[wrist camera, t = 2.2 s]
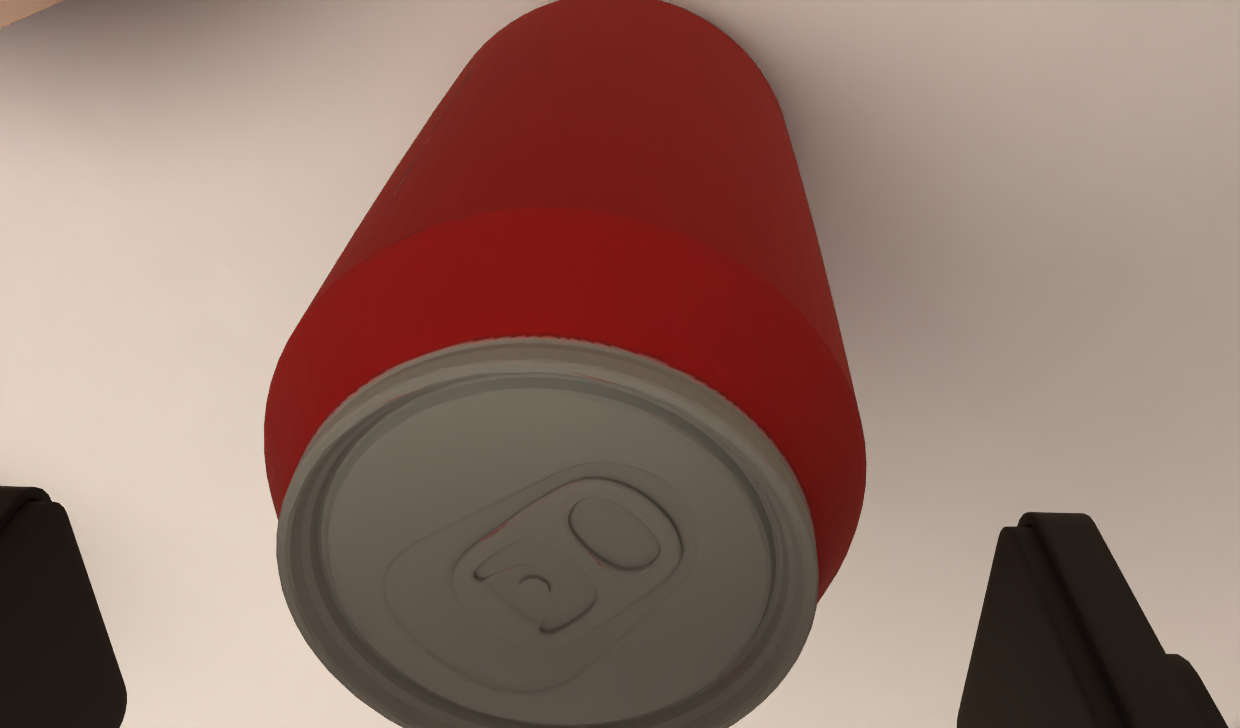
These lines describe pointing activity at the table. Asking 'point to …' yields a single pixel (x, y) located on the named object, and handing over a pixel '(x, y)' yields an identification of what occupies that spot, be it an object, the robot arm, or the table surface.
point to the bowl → (21, 9)
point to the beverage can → (572, 396)
